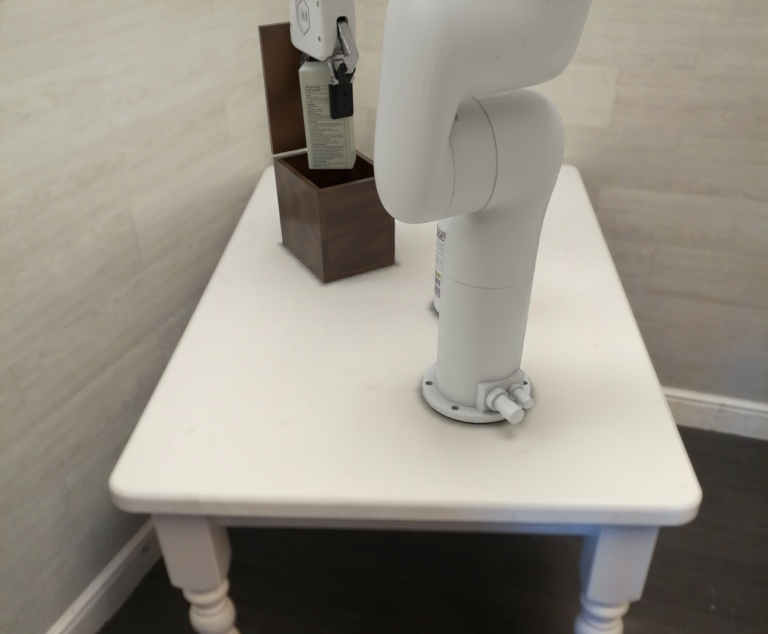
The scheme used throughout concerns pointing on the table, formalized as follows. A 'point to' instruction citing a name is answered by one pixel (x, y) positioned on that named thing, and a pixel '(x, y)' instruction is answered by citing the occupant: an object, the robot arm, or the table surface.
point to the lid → (282, 87)
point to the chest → (333, 217)
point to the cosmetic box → (324, 121)
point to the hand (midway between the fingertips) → (328, 108)
